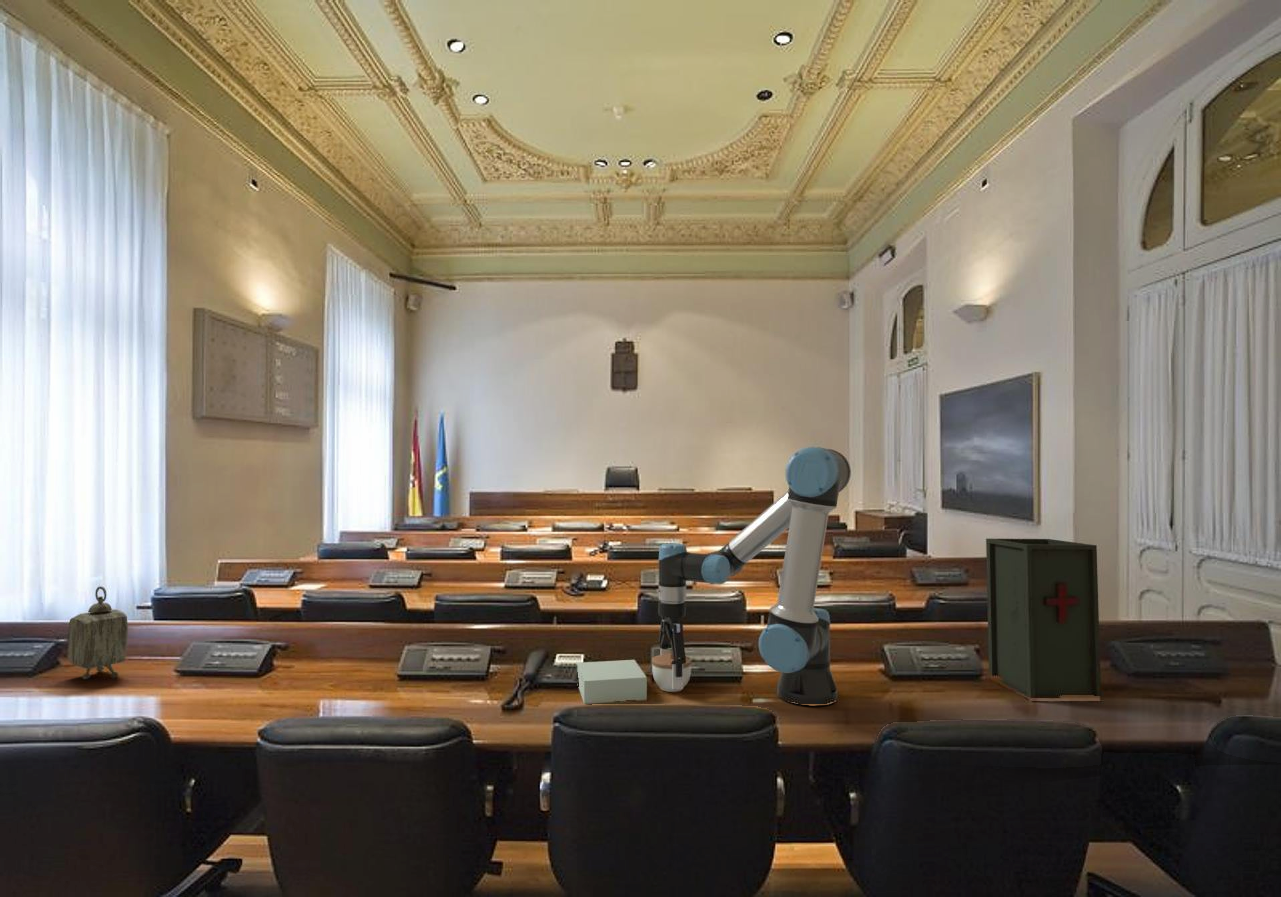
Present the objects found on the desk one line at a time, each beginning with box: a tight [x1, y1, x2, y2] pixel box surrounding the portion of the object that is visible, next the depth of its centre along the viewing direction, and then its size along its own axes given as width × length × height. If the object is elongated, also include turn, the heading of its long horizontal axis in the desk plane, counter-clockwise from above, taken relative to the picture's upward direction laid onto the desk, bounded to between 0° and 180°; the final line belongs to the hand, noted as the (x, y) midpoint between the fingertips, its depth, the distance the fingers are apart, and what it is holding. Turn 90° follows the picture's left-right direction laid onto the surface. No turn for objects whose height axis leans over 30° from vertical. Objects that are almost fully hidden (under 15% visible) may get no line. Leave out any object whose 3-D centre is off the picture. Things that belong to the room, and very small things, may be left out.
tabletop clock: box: [67, 585, 128, 680], centre depth 175 cm, size 14×9×25 cm, turn 58°
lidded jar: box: [651, 652, 692, 693], centre depth 169 cm, size 11×11×9 cm
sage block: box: [576, 659, 648, 705], centre depth 166 cm, size 16×16×6 cm
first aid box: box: [985, 538, 1102, 698], centre depth 171 cm, size 18×18×40 cm
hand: (671, 680), depth 169 cm, fingers open, 13 cm apart
